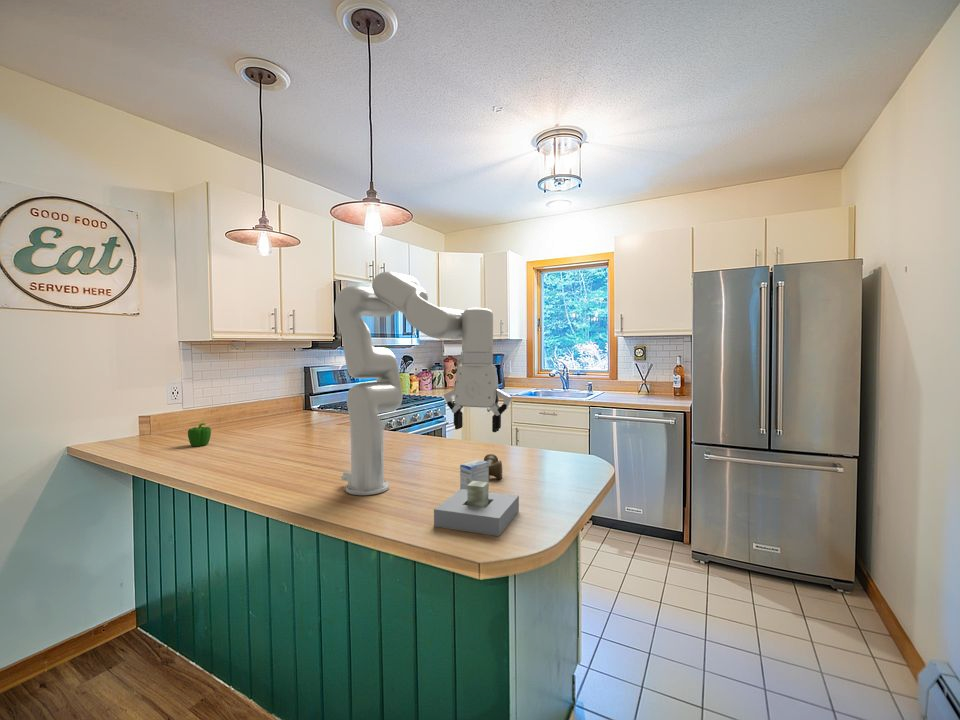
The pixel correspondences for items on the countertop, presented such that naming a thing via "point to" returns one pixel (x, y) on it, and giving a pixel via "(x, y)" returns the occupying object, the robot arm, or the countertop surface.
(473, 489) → the peg
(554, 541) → the countertop surface
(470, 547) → the countertop surface
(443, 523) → the socket block
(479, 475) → the medicine box
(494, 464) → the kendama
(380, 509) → the countertop surface
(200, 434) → the bell pepper
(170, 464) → the countertop surface
